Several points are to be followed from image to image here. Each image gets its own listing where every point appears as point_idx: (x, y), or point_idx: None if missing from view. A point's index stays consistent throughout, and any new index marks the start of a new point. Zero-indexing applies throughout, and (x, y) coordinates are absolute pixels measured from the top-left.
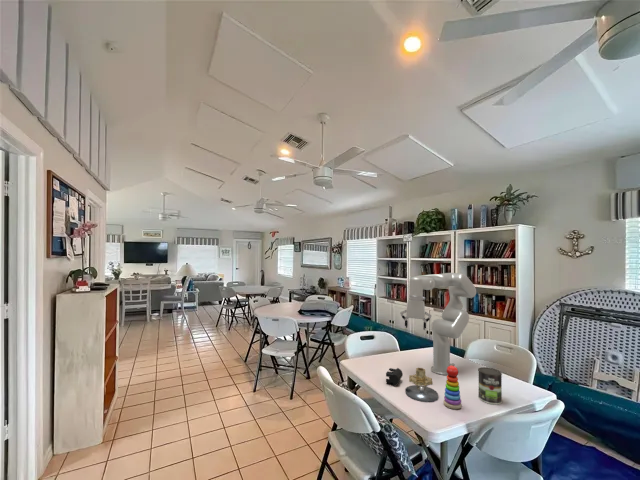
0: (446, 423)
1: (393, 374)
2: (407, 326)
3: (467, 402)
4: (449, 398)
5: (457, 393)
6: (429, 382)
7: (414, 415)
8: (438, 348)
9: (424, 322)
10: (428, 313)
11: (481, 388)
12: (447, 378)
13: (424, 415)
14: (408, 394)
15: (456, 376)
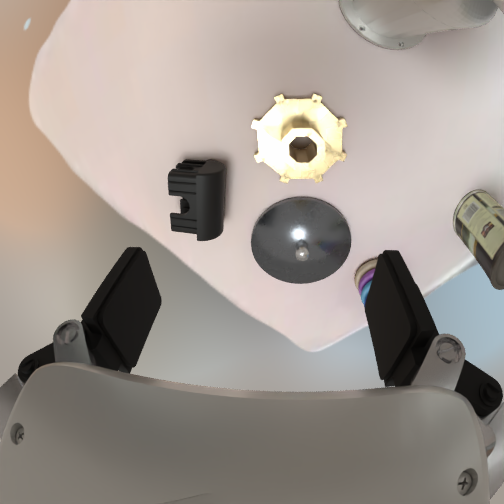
0: (339, 332)
1: (199, 240)
2: (145, 263)
3: (417, 246)
4: None
5: None
6: (334, 162)
7: (281, 328)
8: (424, 15)
9: (401, 375)
10: (496, 486)
11: (468, 246)
12: None
13: (301, 323)
14: (263, 269)
15: None
